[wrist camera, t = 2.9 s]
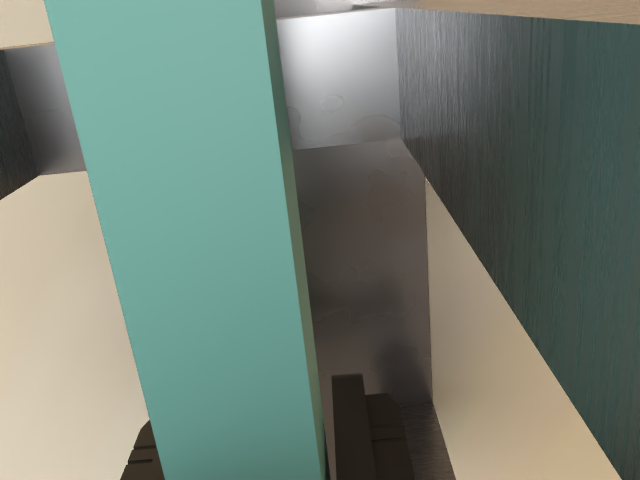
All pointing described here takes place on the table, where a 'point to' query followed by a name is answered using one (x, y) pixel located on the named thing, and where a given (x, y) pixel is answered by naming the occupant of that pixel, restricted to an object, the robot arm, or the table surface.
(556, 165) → the hook rack
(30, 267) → the table surface
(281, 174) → the teal rail
